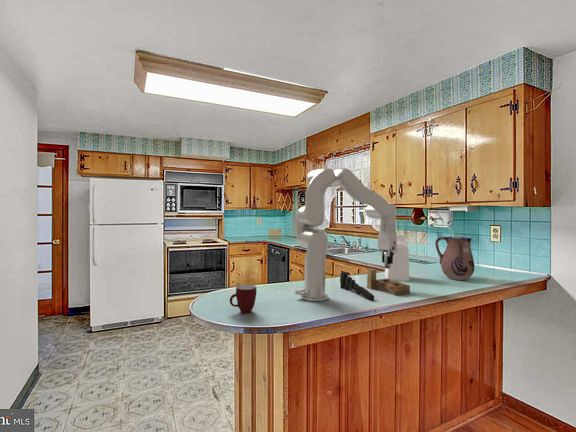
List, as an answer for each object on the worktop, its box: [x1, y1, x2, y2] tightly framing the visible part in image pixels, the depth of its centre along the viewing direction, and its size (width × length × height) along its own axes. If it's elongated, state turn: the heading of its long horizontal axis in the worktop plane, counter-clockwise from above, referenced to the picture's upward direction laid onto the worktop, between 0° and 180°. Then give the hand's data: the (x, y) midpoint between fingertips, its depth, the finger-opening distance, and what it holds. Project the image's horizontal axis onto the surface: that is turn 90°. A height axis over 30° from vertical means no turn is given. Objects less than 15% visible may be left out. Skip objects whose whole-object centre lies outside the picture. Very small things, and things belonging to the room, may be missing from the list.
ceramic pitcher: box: [435, 236, 475, 281], centre depth 192 cm, size 18×21×25 cm
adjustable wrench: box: [339, 271, 375, 302], centre depth 156 cm, size 8×3×25 cm
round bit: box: [383, 250, 391, 269], centre depth 166 cm, size 3×3×10 cm
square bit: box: [366, 268, 377, 290], centre depth 166 cm, size 3×3×10 cm
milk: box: [384, 234, 410, 282], centre depth 190 cm, size 12×12×26 cm
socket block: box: [376, 278, 411, 296], centre depth 162 cm, size 16×9×4 cm, turn 23°
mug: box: [229, 284, 257, 314], centre depth 126 cm, size 10×8×10 cm
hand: (387, 262), depth 166 cm, fingers closed on round bit, 3 cm apart
